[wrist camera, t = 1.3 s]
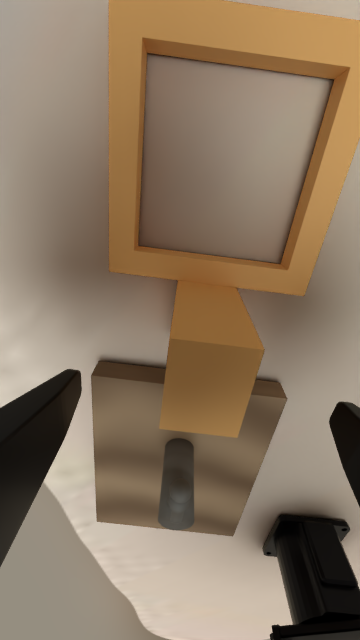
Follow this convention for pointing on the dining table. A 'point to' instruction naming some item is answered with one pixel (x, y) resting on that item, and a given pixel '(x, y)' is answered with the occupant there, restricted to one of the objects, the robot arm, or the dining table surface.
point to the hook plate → (146, 455)
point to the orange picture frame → (207, 270)
